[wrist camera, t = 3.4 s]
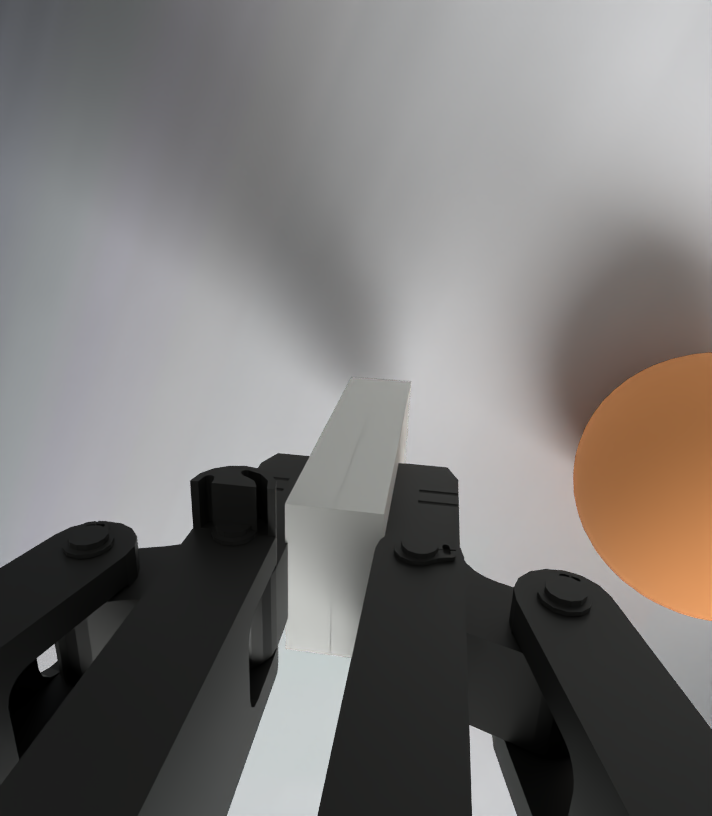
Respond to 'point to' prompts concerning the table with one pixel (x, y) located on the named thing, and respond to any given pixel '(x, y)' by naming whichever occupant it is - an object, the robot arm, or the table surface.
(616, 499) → the ball
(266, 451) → the table surface
